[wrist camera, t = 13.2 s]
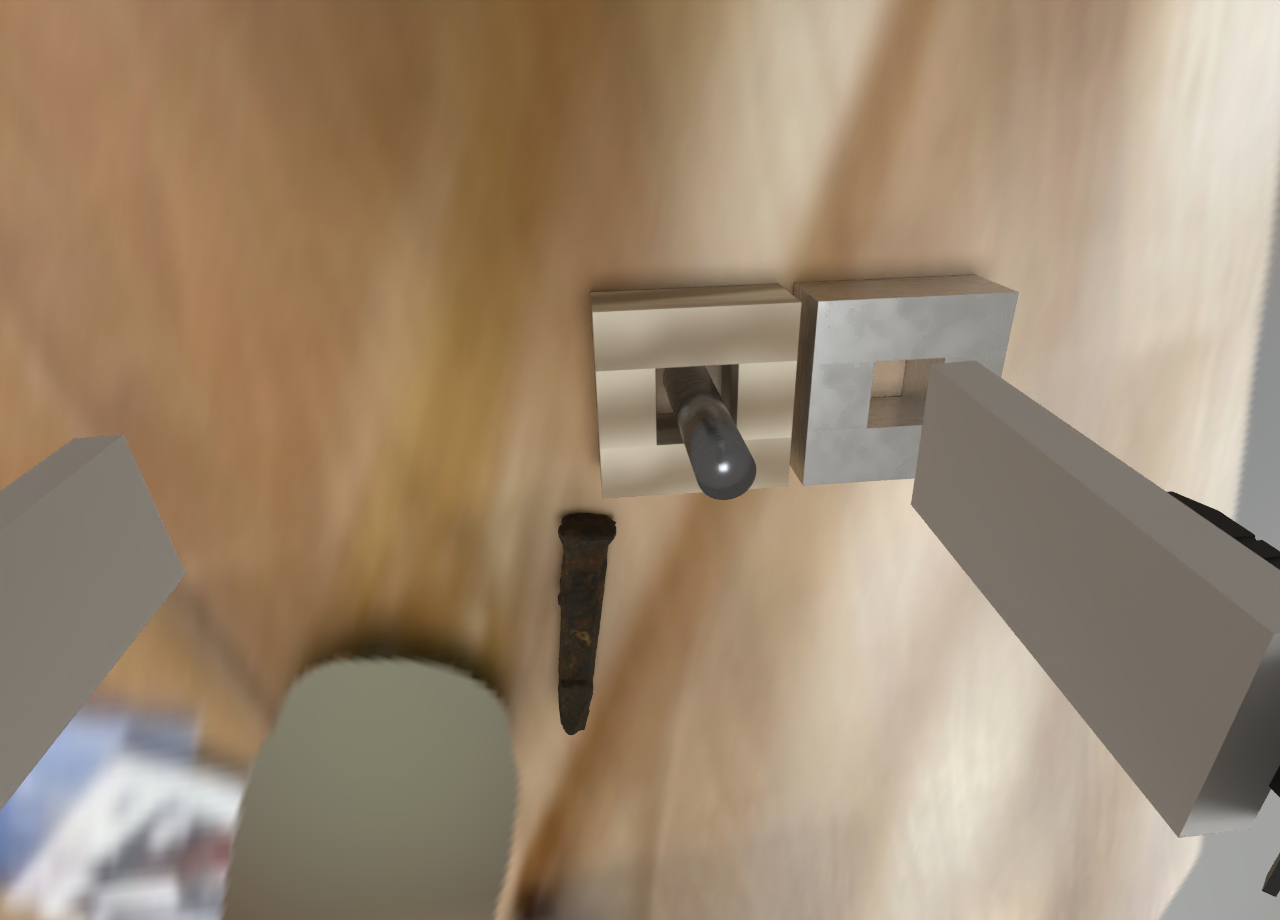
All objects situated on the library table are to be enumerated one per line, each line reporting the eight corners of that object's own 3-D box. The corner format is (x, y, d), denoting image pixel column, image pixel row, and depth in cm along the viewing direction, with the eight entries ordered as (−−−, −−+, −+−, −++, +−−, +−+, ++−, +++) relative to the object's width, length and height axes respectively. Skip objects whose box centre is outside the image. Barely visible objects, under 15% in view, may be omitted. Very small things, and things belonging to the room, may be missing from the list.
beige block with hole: (590, 292, 45) (592, 312, 40) (778, 283, 46) (801, 302, 41) (599, 463, 50) (602, 498, 46) (768, 453, 51) (787, 486, 46)
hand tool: (560, 505, 52) (558, 540, 47) (615, 510, 52) (618, 545, 48) (538, 702, 60) (535, 747, 55) (586, 705, 60) (586, 749, 56)
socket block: (793, 282, 46) (818, 301, 41) (975, 274, 46) (1018, 292, 42) (782, 452, 51) (802, 485, 46) (945, 442, 52) (980, 474, 47)
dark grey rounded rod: (662, 357, 47) (696, 447, 35) (707, 355, 47) (758, 443, 35) (663, 400, 48) (696, 501, 36) (707, 397, 49) (755, 497, 36)
